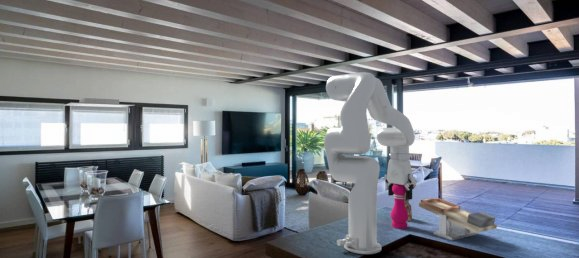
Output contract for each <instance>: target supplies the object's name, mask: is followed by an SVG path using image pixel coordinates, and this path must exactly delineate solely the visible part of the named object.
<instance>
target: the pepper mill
mask: <svg viewBox="0 0 579 258" xmlns="http://www.w3.org/2000/svg"><path fill="white" fill-rule="evenodd" d="M406 190H407V189H406V187H405V185H398V184H394V185H393V187H392V191H393V192H394V194H393V195H392V196H393V199H394V204H393V207H392V210H391V212H390V218H391V220H392V221H391V227H393V228H395V229H398V230H399V229H400V230H401V229H408V221H407V220H408V218H409V216H408V212H407V210H406V207H405V202H404V201H405V198H406V195H405V193H406Z"/></svg>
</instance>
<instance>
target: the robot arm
mask: <svg viewBox="0 0 579 258" xmlns="http://www.w3.org/2000/svg"><path fill="white" fill-rule="evenodd" d="M325 91H326V94H327V95H328V97H329V98H330V99H331V100H333V101H338V102H339V101H340V102H344V104H343V105H342V108H341V110H340V117H339V118H340V124H341V126H332V127H330V128H328V130H326V133H325V135H324V140H323V141H324V150H325V155H326V159H327V166H328V170H329V174H330V176H331V178H332V179H333V180H334V181H336V182H343V183H352V184H354V186H353V187H352V189H351V190H350V192H349V193H348V201H347V203H348V205H347V206H348V207H347V208H348V217H347V218H348V222H347V223H348V224H347V225H348V227H347V228H348V229H347V230H348V231H347V234H345V237H344V238H343V239H342V238H340V239H337V240H336V244H337V246H338V247H340V246H343V247H344V249H345V250H347V251H348V252H351V253H354V254H359V255H374V254H378V253H380V252H381V251H382V245H381V244H380V243H379V242H377V239H378V236H377V235H378V227H377V226H378V225H377V221H378V220H377V218H378V216H377V215H378V214H377V213H378V211H377V210H378V209H377V203H378V201H377V200H378V199H377V198H378V196H377V194H378V183H379V177H380V169H381V168H380V163H379V162H378V161H377V159H375V158H374V157H372V156H366V155H365V154H366V153H368V152H369V151H370V150H371V136H370V130H369V123H368V116H367V112H368V114H369V116H370V117H371V118H372V119H373V120H375V121H377V122H379V123H382V124H385V125H389V126H392V127H383V128H381V129H379V131H378V132H377V135H376V140H377V141H378V142H377V143H379V144H380V145H381V146H384V147H389V152H390V153H389V157H390V159H389V160H388V162H387V170H386V172H387V173H385V174H384V179H385V183H386V186H387V188H388V196H394V195H393V194H394V192H393V191H392V187H393V185H394V184H398V185H405V187H406V189H407V190H406V200H409V201H410V200H413V191H414V189H415V187H416V186H417V183H418V180H417V179H416V178H415V177H413V172H412V165H411V161H410V147H411V146H412V145H413V144H414V143H415V132H414V129H413V125H412V123H411V121H410V119H409V118H408V117H407V116H406V115H405V114H404V113H402V112H401V111H400V110H398V109H397V108H395V107H393V106H392V105H391V102H390V100H389V96H388V94H387V92H386V90H385V87H384V85H383V82H382V81H381V79H379V78H377V77H375V75H374V74H373V73H371V72H364V71H363V72H362V71H361V72H360V71H359V72H352V73H344V74H337V75H333V76H331V77H329V78H328V80H327V81H326V85H325ZM363 154H364V155H363Z"/></svg>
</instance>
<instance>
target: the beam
mask: <svg viewBox="0 0 579 258" xmlns="http://www.w3.org/2000/svg"><path fill="white" fill-rule="evenodd" d="M418 207H419V208H422V210H423V209H424V210H426V211H428V212H430V213H432V214H435V215H436V216H439V214H443V215H447V216H448V220H449V221H451V222H454V223H456V224H458V225H460V226H462V227H464V228H466V229H469V230H471V231H473V232H475V233H477V234H478V233H482V232H486V231H491V230H495V229H497V227H498V224H497V223H495V222H496V216H493V215H490V214H488V213H485V212H483V211H481V212H475V213H472V212H471V213H469V212H466V211H467V210H466V211H464V210H465V209H461V206H460V205H457V204H455V203H453V202H451V201H447V200H445V199H442V198H440V197H432V198H427V199H425V198H424V199H420V202H419V204H418Z"/></svg>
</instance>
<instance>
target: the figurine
mask: <svg viewBox="0 0 579 258" xmlns="http://www.w3.org/2000/svg"><path fill="white" fill-rule="evenodd" d="M405 195H406V193H405ZM409 201H410V200H406V198H405V201H404V202H405V207H406V210H407V212H408V216H409V218H408V220H407V221H406V222H411V221H413V212H412V205H411V203H410V202H409Z"/></svg>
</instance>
